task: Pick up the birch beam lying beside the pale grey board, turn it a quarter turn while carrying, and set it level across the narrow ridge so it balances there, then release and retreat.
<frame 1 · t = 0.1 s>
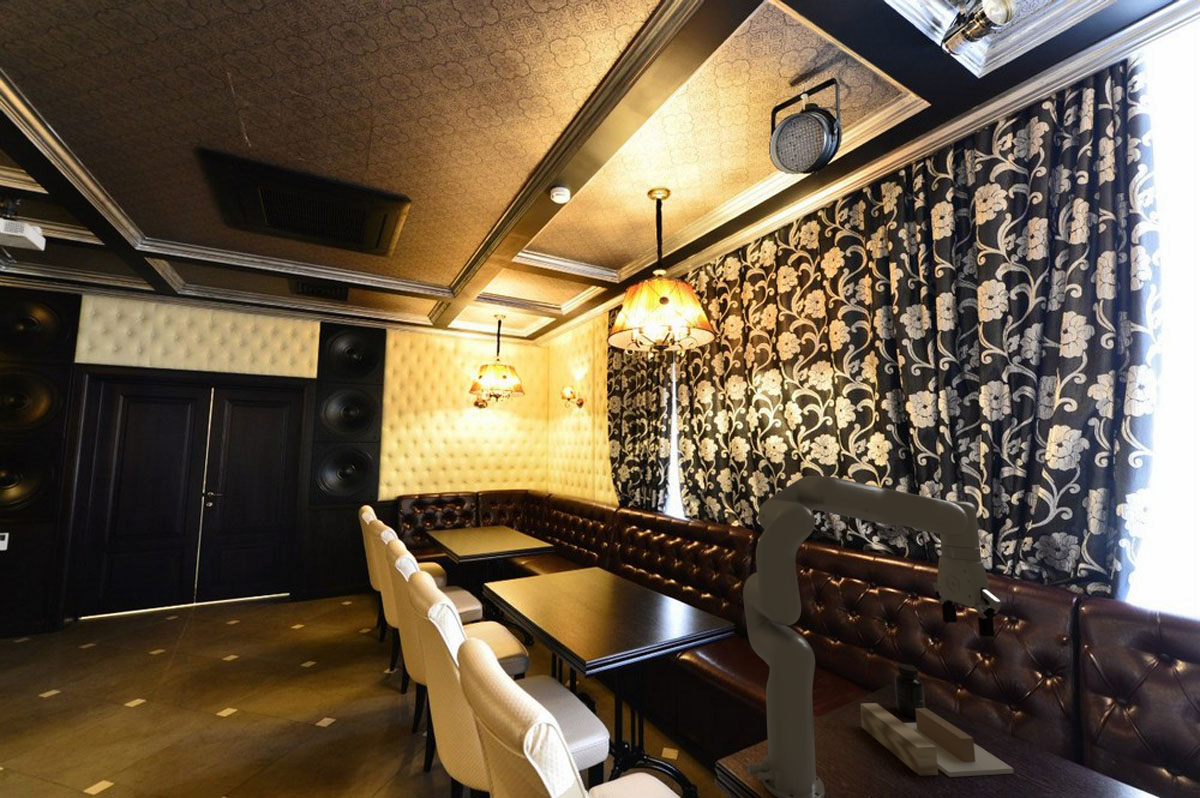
hand: (967, 628, 110), 31 cm above the table, fingers open, 9 cm apart
birch beam: (896, 749, 115), on the table
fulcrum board: (944, 748, 115), on the table
supplement bottle: (910, 713, 133), on the table
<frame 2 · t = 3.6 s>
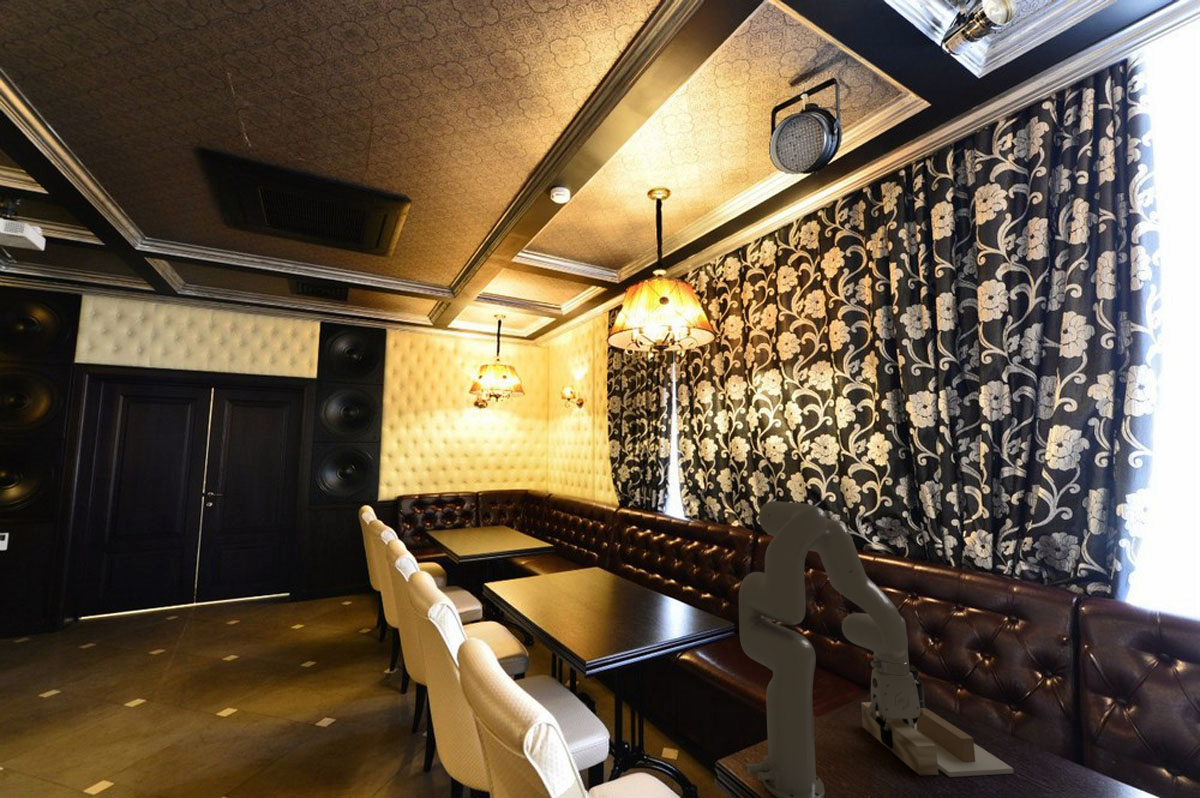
hand: (897, 743, 115), 1 cm above the table, fingers closed on birch beam, 4 cm apart
birch beam: (897, 748, 115), on the table, touching gripper
everything else where it was.
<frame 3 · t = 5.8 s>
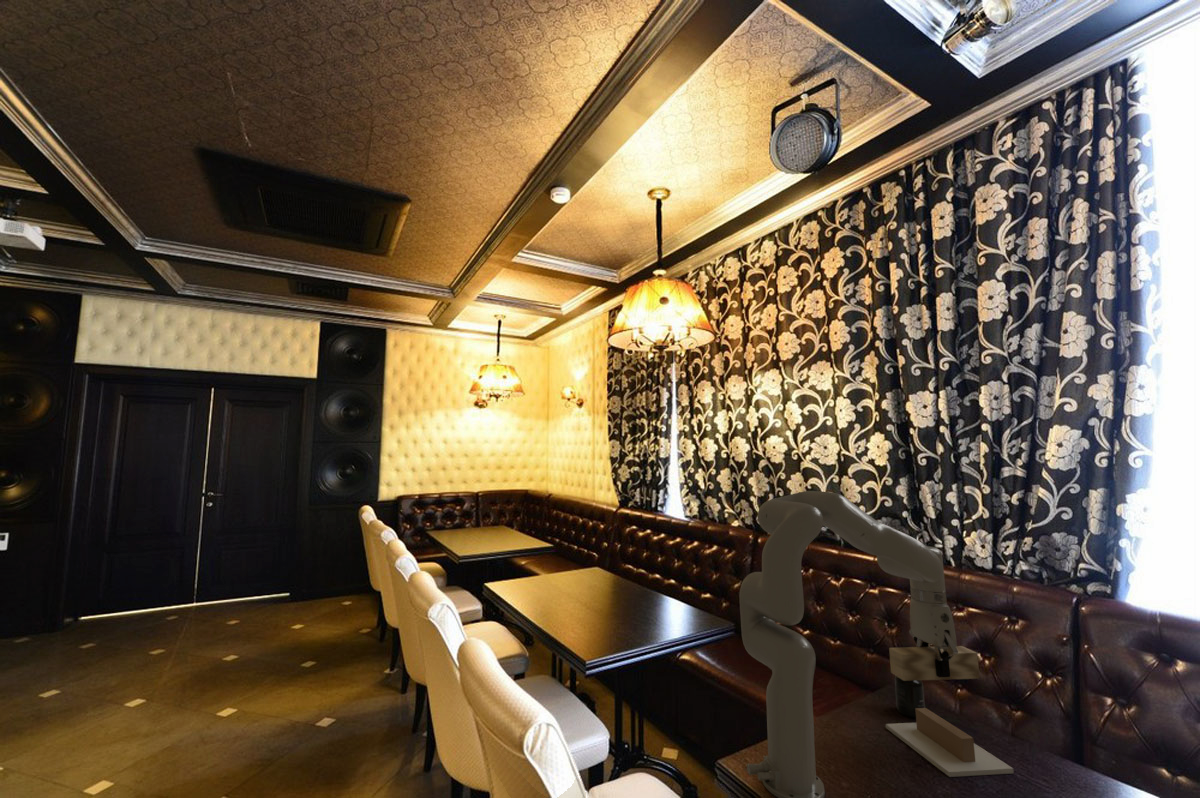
hand: (934, 671, 118), 18 cm above the table, fingers closed on birch beam, 4 cm apart
birch beam: (934, 675, 118), point 17 cm above the table, touching gripper
everything else where it was.
when the fingers open (7 cm above the table, at t = 8.0 s): birch beam stays where it is, resting on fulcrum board.
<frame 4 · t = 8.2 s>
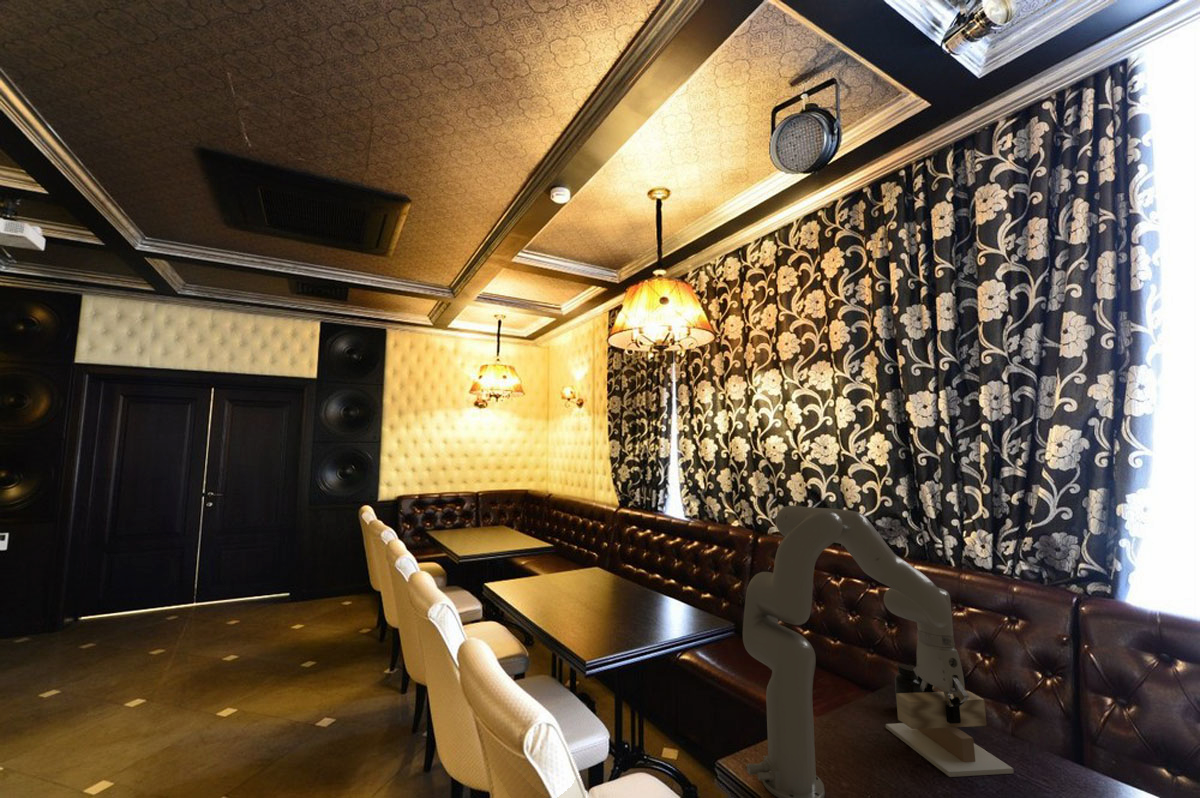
hand: (941, 714, 117), 8 cm above the table, fingers open, 6 cm apart
birch beam: (941, 722, 116), point 6 cm above the table, touching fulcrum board
everything else where it was.
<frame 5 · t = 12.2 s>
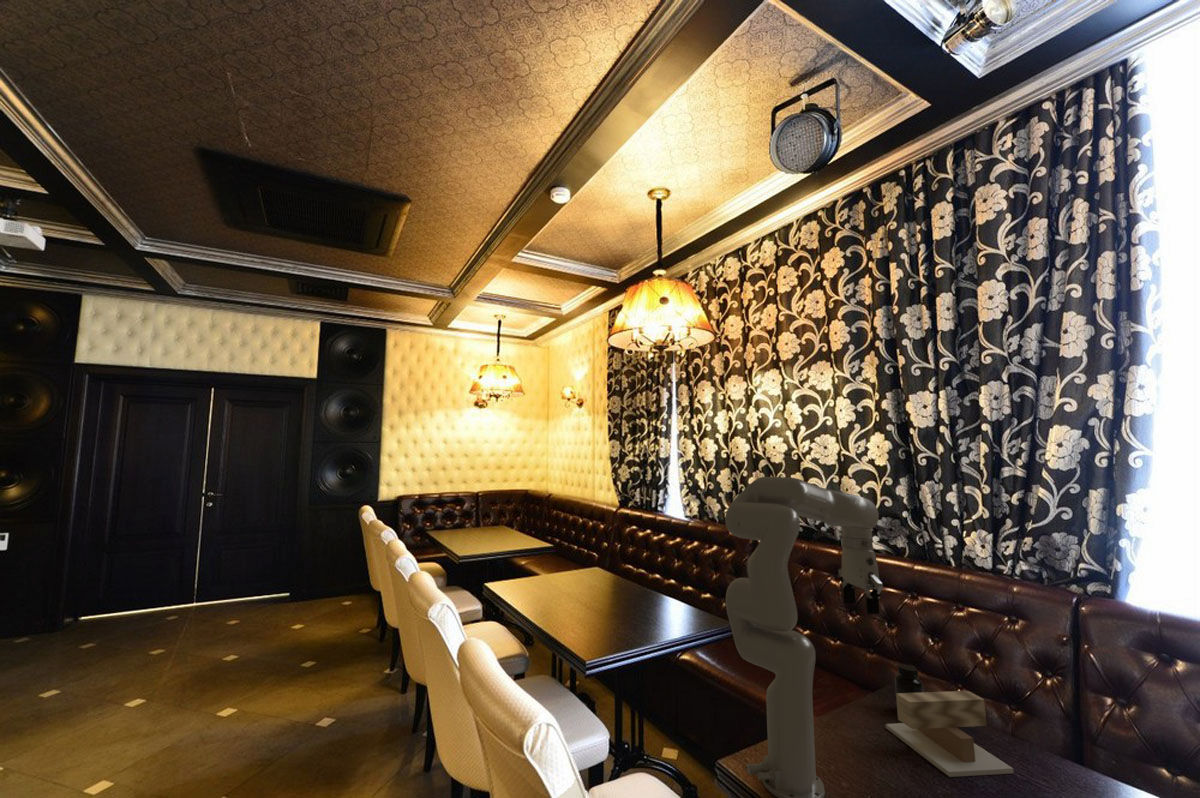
hand: (861, 608, 128), 30 cm above the table, fingers open, 9 cm apart
nothing on the table moved.
at the end: birch beam 0.2 cm from the target spot, point 6.0 cm above the table; birch beam tilted 0°; birch beam touching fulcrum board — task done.
